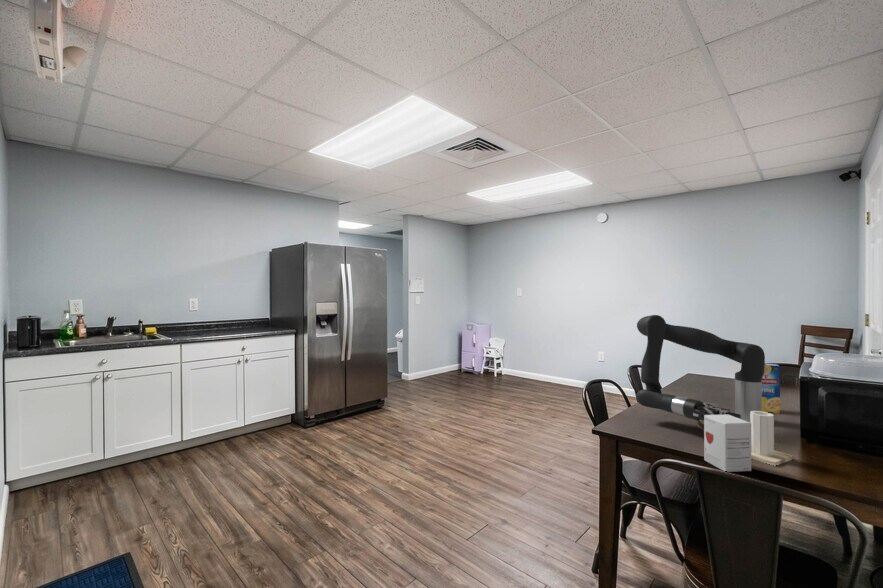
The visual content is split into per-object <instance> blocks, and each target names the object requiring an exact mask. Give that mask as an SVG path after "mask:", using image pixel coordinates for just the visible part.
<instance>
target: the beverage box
mask: <svg viewBox="0 0 883 588" xmlns="http://www.w3.org/2000/svg"><path fill="white" fill-rule="evenodd" d="M780 370H781V366H780V365H779V364H776V363H774V362H772V363H771V362H765V367H764V375H763V377H762V412H767V413H768V412H773V413H772V414H781V371H780Z"/></svg>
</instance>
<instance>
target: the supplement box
mask: <svg viewBox="0 0 883 588" xmlns="http://www.w3.org/2000/svg"><path fill="white" fill-rule="evenodd" d="M724 414H725V415H719V414H718V415H704V430H703V437H704V438H703V440H704V442H703V445H704V446H703V449H704V450H703V455H704V456H703V457H704V458H703V460H704V461H705V462H707V463H708V464H710V465H712V466H714V467H715V468H717V469H720V470H721V471H723V472H725V471H727V472H726V473H730V472H731V473H733V472H752V459H751V423H750V422H747V421H744V420H742V419H739V418H736V417H734V416H731V415H728V414H726V413H724Z"/></svg>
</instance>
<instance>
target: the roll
mask: <svg viewBox="0 0 883 588" xmlns="http://www.w3.org/2000/svg"><path fill="white" fill-rule="evenodd" d="M774 417H775V416H774V413H768V412H762V411H751V412H750V423H751V451H752V452H754V453H756V454H760V455H765V456H773V455H774V450H775V430H774V429H775V424H774V423H775V418H774Z"/></svg>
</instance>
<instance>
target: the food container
mask: <svg viewBox="0 0 883 588" xmlns="http://www.w3.org/2000/svg"><path fill="white" fill-rule="evenodd" d="M702 402H703V403H704V405H705V407H712V406H715V407H719V405H717V404H716V403H712V402H706V401H702ZM719 408H720V407H719ZM696 426H697V427H698V428H699V429H701V430H702V431H704V420H696Z"/></svg>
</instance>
